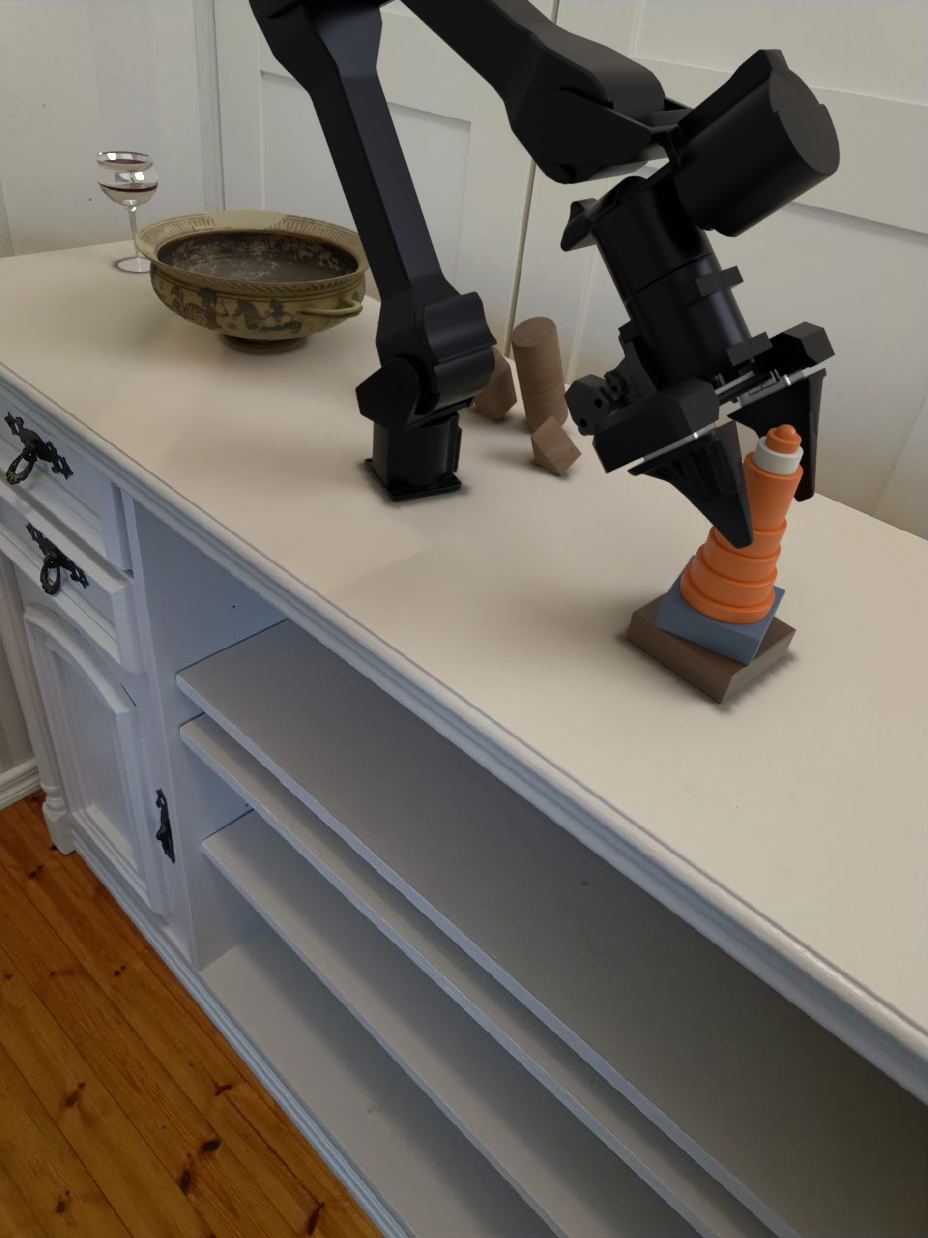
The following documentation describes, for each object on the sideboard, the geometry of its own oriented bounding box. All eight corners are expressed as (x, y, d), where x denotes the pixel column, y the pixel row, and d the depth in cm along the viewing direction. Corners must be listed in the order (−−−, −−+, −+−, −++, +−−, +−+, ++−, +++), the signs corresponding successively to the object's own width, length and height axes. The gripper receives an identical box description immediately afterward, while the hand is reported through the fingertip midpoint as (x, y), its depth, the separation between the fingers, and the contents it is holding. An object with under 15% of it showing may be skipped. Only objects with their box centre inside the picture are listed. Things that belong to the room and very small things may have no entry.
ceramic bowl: (437, 364, 91) (445, 268, 85) (243, 418, 78) (236, 309, 71) (278, 277, 107) (275, 191, 101) (93, 310, 93) (76, 212, 87)
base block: (720, 704, 55) (732, 677, 53) (625, 638, 59) (632, 611, 57) (785, 655, 59) (797, 629, 58) (691, 597, 63) (700, 571, 62)
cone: (699, 625, 53) (763, 450, 46) (666, 568, 58) (719, 400, 50) (786, 623, 54) (862, 451, 47) (747, 567, 59) (811, 402, 51)
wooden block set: (422, 421, 86) (394, 337, 78) (477, 369, 88) (456, 283, 80) (563, 489, 77) (549, 402, 68) (619, 429, 79) (613, 339, 71)
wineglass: (135, 252, 109) (120, 147, 101) (179, 264, 107) (168, 158, 99) (97, 265, 104) (79, 156, 96) (143, 278, 102) (128, 167, 94)
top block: (749, 667, 54) (760, 641, 53) (652, 626, 56) (661, 600, 55) (775, 614, 59) (786, 589, 57) (685, 579, 61) (693, 553, 60)
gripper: (650, 315, 62) (738, 509, 63) (480, 377, 50) (593, 612, 52) (786, 230, 53) (884, 458, 55) (618, 282, 41) (748, 568, 43)
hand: (777, 521), depth 51 cm, fingers open, 8 cm apart
